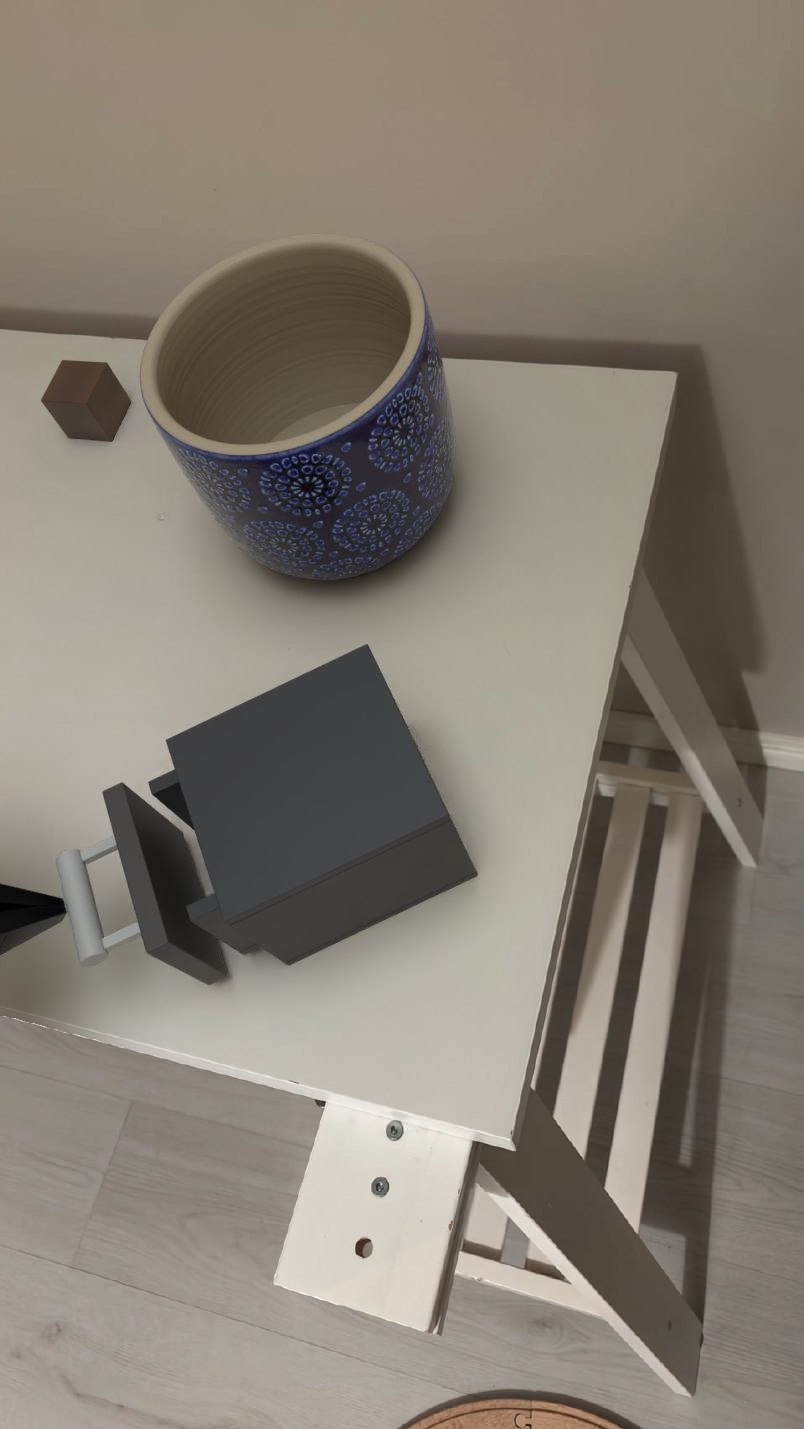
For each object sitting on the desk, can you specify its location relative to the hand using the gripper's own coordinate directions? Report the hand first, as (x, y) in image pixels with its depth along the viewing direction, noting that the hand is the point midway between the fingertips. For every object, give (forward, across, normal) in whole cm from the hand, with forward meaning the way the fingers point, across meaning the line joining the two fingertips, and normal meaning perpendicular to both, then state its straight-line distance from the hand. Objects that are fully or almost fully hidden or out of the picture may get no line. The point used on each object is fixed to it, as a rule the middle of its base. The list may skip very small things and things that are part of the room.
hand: (63, 909), depth 50 cm
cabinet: (+15, 0, -5) cm, 16 cm away
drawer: (+10, 0, -1) cm, 10 cm away
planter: (+21, +22, -11) cm, 32 cm away
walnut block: (+11, +40, -1) cm, 42 cm away
